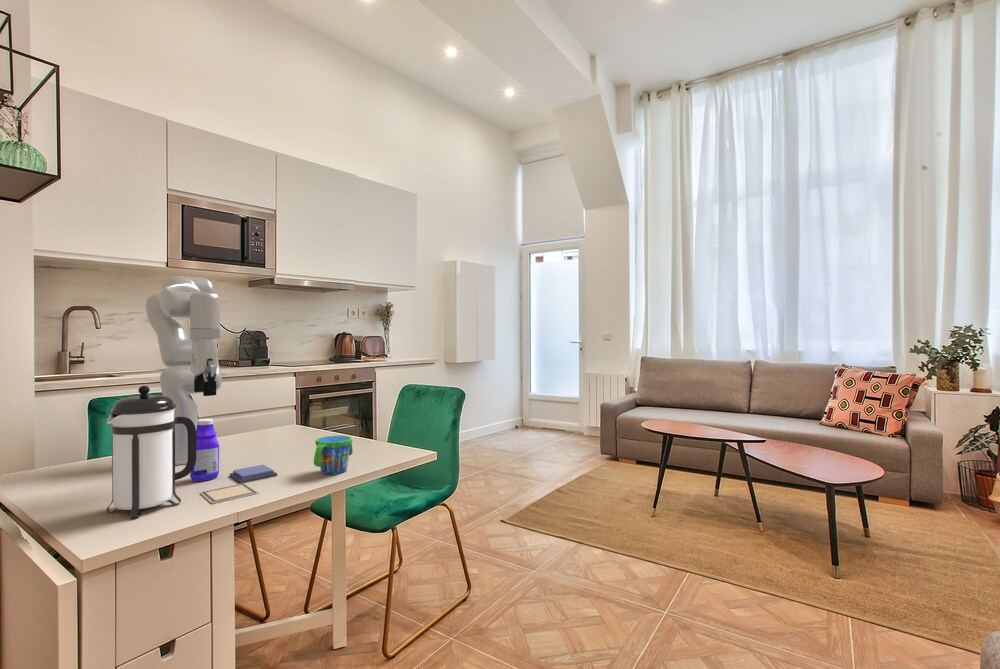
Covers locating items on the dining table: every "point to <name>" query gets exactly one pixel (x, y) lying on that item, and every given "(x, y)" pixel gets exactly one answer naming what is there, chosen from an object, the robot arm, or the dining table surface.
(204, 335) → the robot arm
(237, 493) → the marked card
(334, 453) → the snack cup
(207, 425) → the bottle
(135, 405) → the coffee press
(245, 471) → the ink pad
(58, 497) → the dining table surface
